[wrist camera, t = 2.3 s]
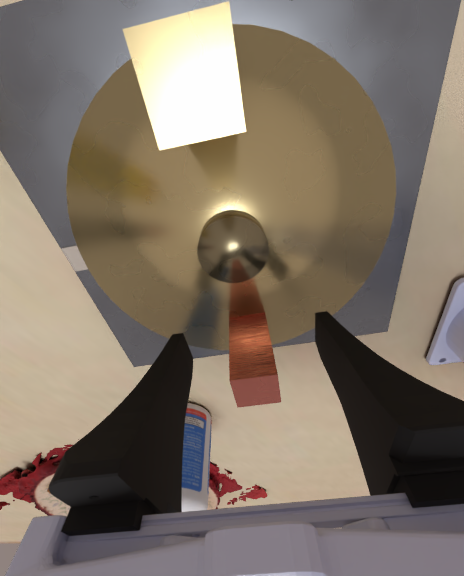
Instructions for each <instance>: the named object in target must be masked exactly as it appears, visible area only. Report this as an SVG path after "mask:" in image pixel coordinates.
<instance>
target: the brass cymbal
mask: <svg viewBox="0 0 464 576" xmlns="http://www.w3.org/2000/svg"><path fill="white" fill-rule="evenodd" d="M123 32H124V36H125V39H126V42H127V46H128V49H129V52H130V55H131V59H129V60H128V61H127V62H126V63H125V64H123V65H122V66H121V67H120V68H119V69H118V70H116V71H115V72H114V73H113V74H112V75H111V77H110V78H109V79H108V80H107V81H106V83H105V84H104V85H103V86H102V87H101V89H100V90H99V91H98V92H97V93H96V95H95V96H94V98H93V100H92V102H91V103H90V105H89V107H88V108H87V110H86V112H85V114H84V115H83V117H82V119H81V122H80V124H79V127H78V130H77V132H76V135H75V137H74V140H73V143H72V148H71V153H70V157H69V162H68V168H67V184H66V194H67V206H68V214H69V219H70V224H71V228H72V233H73V236H74V238H75V241H76V244H77V247H78V250H79V252H80V254H81V256H82V258H83V260H84V262H85V264H86V266H87V268H88V270H89V271H90V273H91V274H92V276H93V277H94V279H95V280H96V282H97V283H98V285H99V286H100V287H101V289H102V290H103V291H104V292H105V293H106V294H107V296H108V297H109V298H110V299H111V300H112V301H113V302H114V303H115V304H116V305H117V306H118V307H119V308H120V309H121V310H122V311H124V312H125V313H126V314H127V315H129V316H130V317H131V318H133V319H134V320H135V321H137V322H138V323H140V324H141V325H143V326H145V327H146V328H148V329H149V330H151V331H153V332H156V333H158V334H160V335H162V336H164V337H166V338H169V339H170V337H171V336H172V334H178V333H183V334H184V336H185V339H186V341H187V344H188V345H190V346H194V347H200V348H205V349H213V350H229V368H230V384H231V387H232V390H233V393H234V397H235V400H236V403H237V407H245V406H253V405H262V404H270V403H278V402H281V397H280V389H279V382H278V374H277V369H276V364H275V359H274V354H273V349H272V345H274V344H278V343H281V342H284V341H287V340H289V339H292V338H295V337H297V336H299V335H301V334H303V333H305V332H307V331H309V330H311V329H313V328H315V313H318V312H324V311H327V312H329V313H330V314H331V315H334V314H335V313H336V312H337V311H339V310H340V309H341V308H342V307H343V306H344V305H345V304H346V303H347V302H348V301H349V300H350V299H351V298H352V297H353V296H354V295H355V294H356V292H357V291H358V290H359V289H360V288H361V287H362V285H363V284H364V283H365V281H366V280H367V278H368V277H369V275H370V274H371V272H372V271H373V269H374V267H375V265H376V263H377V261H378V260H379V258H380V256H381V254H382V251H383V249H384V246H385V244H386V241H387V238H388V236H389V232H390V228H391V224H392V220H393V216H394V209H395V199H396V170H395V164H394V158H393V152H392V147H391V144H390V141H389V138H388V135H387V132H386V129H385V126H384V123H383V121H382V119H381V117H380V115H379V113H378V111H377V109H376V107H375V106H374V104H373V102H372V100H371V98H370V97H369V96H368V94H367V93H366V92H365V90H364V89H363V88H362V87H361V85H360V84H359V83H358V81H357V80H356V79H355V77H354V76H352V75H351V74H350V73H349V72H348V71H347V70H346V69H345V68H344V67H343V66H342V65H341V64H340V63H339V62H337V61H336V60H335V59H334V58H333V57H331V56H330V55H328V54H327V53H325V52H324V51H322V50H320V49H319V48H317V47H316V46H314V45H313V44H311V43H310V42H307V41H305V40H302V39H300V38H298V37H295V36H293V35H290V34H288V33H286V32H283V31H280V30H275V29H271V28H266V27H261V26H256V25H251V24H232V19H231V12H230V4H229V1H227V2H224V3H220V4H216V5H212V6H208V7H205V8H201V9H197V10H193V11H189V12H186V13H182V14H178V15H174V16H171V17H167V18H163V19H159V20H155V21H152V22H148V23H144V24H140V25H136V26H133V27H129V28H125V29H123Z"/></svg>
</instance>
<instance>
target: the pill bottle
mask: <svg viewBox="0 0 464 576" xmlns="http://www.w3.org/2000/svg"><path fill="white" fill-rule="evenodd" d="M211 424H212V423H211V416H210V414H209V412H208V411H207V410H206V409H204V408H203V407H201V406H198V405H195V404H191V403H188V404H187V410H186V417H185V426H184V440H183V460H182V512H189V511H200V510H207V509H208V494H209V471H210V448H211Z"/></svg>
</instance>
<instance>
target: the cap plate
mask: <svg viewBox="0 0 464 576" xmlns="http://www.w3.org/2000/svg"><path fill="white" fill-rule="evenodd" d="M227 1H229V4H230V12H231V19H232V24H251V25H256V26H261V27H266V28H271V29H275V30H280V31H283V32H286V33H288V34H290V35H293V36H295V37H298V38H300V39H302V40H305V41H307V42H310V43H311V44H313V45H314V46H316V47H317V48H319V49H320V50H322V51H324V52H325V53H327V54H328V55H330V56H331V57H333V58H334V59H335V60H336V61H337V62H339V63H340V64H341V65H342V66H343V67H344V68H345V69H346V70H347V71H348V72H349V73H350V74H351V75H352V76H354V77H355V79H356V80H357V81H358V83H359V84H360V85H361V87H362V88H363V89H364V90H365V92H366V93H367V94H368V96H369V97H370V98H371V100H372V102H373V104H374V106H375V107H376V109H377V111H378V113H379V115H380V117H381V119H382V121H383V123H384V126H385V129H386V132H387V135H388V138H389V141H390V144H391V147H392V152H393V158H394V164H395V170H396V199H395V209H394V216H393V220H392V224H391V228H390V232H389V236H388V238H387V241H386V244H385V246H384V249H383V251H382V254H381V256H380V258H379V260H378V261H377V263H376V265H375V267H374V269H373V271H372V272H371V274H370V275H369V277H368V278H367V280H366V281H365V283H364V284H363V285H362V287H361V288H360V289H359V290H358V291H357V292H356V294H355V295H354V296H353V297H352V298H351V299H350V300H349V301H348V302H347V303H346V304H345V305H344V306H343V307H342V308H341V309H340V310H339V311H337V312H336V313H335V314H334V315H332V316H333V317H334V318H335V319H336V320H337V321H338V322H339V323H340V324H341V325H342V326H343V327H344V328H345V329H347V330H348V331H349V332H350V333H351V334H352V335H353V336H358V335H365V334H372V333H380V332H387V331H388V327H389V322H390V318H391V313H392V309H393V304H394V300H395V295H396V291H397V286H398V282H399V277H400V273H401V268H402V264H403V259H404V255H405V250H406V246H407V241H408V237H409V232H410V228H411V223H412V219H413V214H414V210H415V205H416V201H417V196H418V192H419V187H420V183H421V178H422V174H423V169H424V165H425V160H426V156H427V151H428V147H429V142H430V138H431V133H432V129H433V124H434V120H435V115H436V111H437V106H438V102H439V97H440V93H441V88H442V84H443V79H444V75H445V70H446V66H447V61H448V57H449V52H450V48H451V43H452V39H453V34H454V30H455V25H456V21H457V16H458V12H459V7H460V3H461V0H23V1H19V2H16V3H12V4H9V5H5V6H2V7H0V151H1V152H2V154H3V155H4V157H5V159H6V160H7V162H8V164H9V165H10V167H11V168H12V170H13V172H14V173H15V175H16V177H17V178H18V180H19V181H20V183H21V185H22V186H23V188H24V189H25V191H26V193H27V194H28V196H29V198H30V199H31V201H32V202H33V204H34V206H35V207H36V209H37V211H38V212H39V214H40V215H41V217H42V219H43V220H44V222H45V224H46V225H47V227H48V228H49V230H50V232H51V233H52V235H53V236H54V238H55V240H56V241H57V243H58V245H59V246H60V248H61V249H62V251H63V253H64V254H65V256H66V258H67V259H68V261H69V262H70V264H71V266H72V267H73V269H74V270H75V272H76V274H77V275H78V277H79V279H80V280H81V282H82V283H83V285H84V287H85V288H86V290H87V292H88V293H89V295H90V296H91V298H92V300H93V301H94V303H95V305H96V306H97V308H98V309H99V311H100V313H101V314H102V316H103V317H104V319H105V321H106V322H107V324H108V326H109V327H110V329H111V330H112V332H113V334H114V335H115V337H116V339H117V340H118V342H119V343H120V345H121V347H122V348H123V350H124V352H125V353H126V355H127V356H128V358H129V360H130V361H131V363H132V364H133V366H134V367H137V366H144V365H151V364H153V363H154V362H155V360H156V359H157V357H158V356H159V354H160V353H161V351H162V350H163V348H164V346H165V345H166V343H167V342H168V340H169V338H166V337H164V336H162V335H160V334H158V333H156V332H153V331H151V330H149V329H148V328H146V327H145V326H143V325H141V324H140V323H138V322H137V321H135V320H134V319H133V318H131V317H130V316H129V315H127V314H126V313H125V312H124V311H122V310H121V309H120V308H119V307H118V306H117V305H116V304H115V303H114V302H113V301H112V300H111V299H110V298H109V297H108V296H107V294H106V293H105V292H104V291H103V290H102V289H101V287H100V286H99V285H98V283H97V282H96V280H95V279H94V277H93V276H92V274H91V273H90V271H89V270H88V268H87V266H86V264H85V262H84V260H83V258H82V256H81V254H80V252H79V250H78V247H77V244H76V241H75V238H74V236H73V233H72V228H71V224H70V219H69V214H68V206H67V194H66V184H67V168H68V162H69V157H70V153H71V148H72V143H73V140H74V137H75V135H76V132H77V130H78V127H79V124H80V122H81V119H82V117H83V115H84V114H85V112H86V110H87V108H88V107H89V105H90V103H91V102H92V100H93V98H94V96H95V95H96V93H97V92H98V91H99V90H100V89H101V87H102V86H103V85H104V84H105V83H106V81H107V80H108V79H109V78H110V77H111V75H112V74H113V73H114V72H115V71H116V70H118V69H119V68H120V67H121V66H122V65H123V64H125V63H126V62H127V61H128V60H129V59H131V55H130V52H129V49H128V46H127V42H126V39H125V36H124V32H123V29H125V28H129V27H133V26H136V25H140V24H144V23H148V22H152V21H155V20H159V19H163V18H167V17H171V16H174V15H178V14H182V13H186V12H189V11H193V10H197V9H201V8H205V7H208V6H212V5H216V4H220V3H224V2H227ZM308 342H315V328H313V329H311V330H309V331H307V332H305V333H303V334H301V335H299V336H297V337H295V338H292V339H289V340H287V341H284V342H281V343H278V344H274V345H272V348H273V347H280V346H287V345H294V344H301V343H308ZM188 346H189V349H190V351H191V354H192V356H193V359H194V358H201V357H208V356H215V355H223V354H229V350H213V349H205V348H200V347H194V346H190V345H188Z"/></svg>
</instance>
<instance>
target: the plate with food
mask: <svg viewBox="0 0 464 576" xmlns="http://www.w3.org/2000/svg"><path fill="white" fill-rule="evenodd" d="M78 440H79V439H78ZM64 446H66V447H63V448H54V449H53V450H50V452H49V453H48V454H47V457H45V459H44V460H43V461H40V458H41V453H42V452H41V453H40V454H39V455H38V456H37V457H36V458H35V460H34V461H33V463H32V464H34V465H35V466H36V470H35V471H34V472H33V471H30V470H28V469H26V470H24V471H22V473H20V471H18V472H17V470H14V471H13V472H11V473H9V474H8V475H6V476H5V477H3V478H2V479H1V480H0V495H6V494H8V493H10V492H13V497H14V498H17V499H20V500H25V501H27V502H29V503H31V502H35V504H36V506H35V508H37V509H38V510H41V511H42V512H44V513H45V514H47V515H48V516H52V515H63V516H67V515H68V513H69V510H70V508H71V507H70V506H68V505H67V504H65V503H64V502H62V501H60V500H59V499H57V498H56V497H54V496H53V495H52V494H51V493H50V491H49V489H48V488H49V484H50V482H51V480H52V478H53V476H54V474H55V472H56V470H57V468H58V466H59V464H60V462H61V460H62V458H63V456H64V454H65V452H66V451H67V450H68V449H69V448H70V447H71V446H73V445H64ZM67 447H69V448H67ZM62 449H66V450H62ZM53 455H58V457H56V458H52V459H51V460H50V458H51V457H52V456H53ZM216 466H217V465H216V464H215V466H214V465H213V464H211V463H210V471H209V494H208V509H207V510H212V509H218V508H217V506H218V505H219V503H220V498H219V497H222V496H223V495H224V494H226V493H227V492H229V493H231V492H234V491H237V490H240V489H242V486H240V485H238V484H237V482H236V480H235V479H233V480H231V479H229V477H227V476H226V473H225V474H220V473H218V471H219V467H216ZM225 470H226V469H225ZM227 472H228V471H227ZM228 474H232V472H231V473H230V472H228ZM220 483H222V485H223V486H222V488H221V491H220V492H219V490H218V489H219V484H220ZM252 488H254V490H251V492H248V493H243V492H242V493H241V494H240V495H243V494H247V495H243V496H240V497H239V499H240V498H243V499H241V500H243V501H246V498H245V497H247V498H252V499H258V498H260V497H262V498H265V497H267V494H266V492H265V491H264V489H263V488H262V489H261V488H259V486H257V485H255V486H253V487H252ZM248 489H251V488H247V489H246V490H248ZM255 489H258V490H255ZM253 491H254V492H253ZM13 501H15V500H13ZM229 501H231V502H232V504H233V505H234V501H235V502H237V498H233V500H229ZM239 501H240V500H239ZM231 502H228V503H227V504H228V505H229V504H231ZM5 505H10V504H8V503H6V502H0V510H1V509H2V506H5Z"/></svg>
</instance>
